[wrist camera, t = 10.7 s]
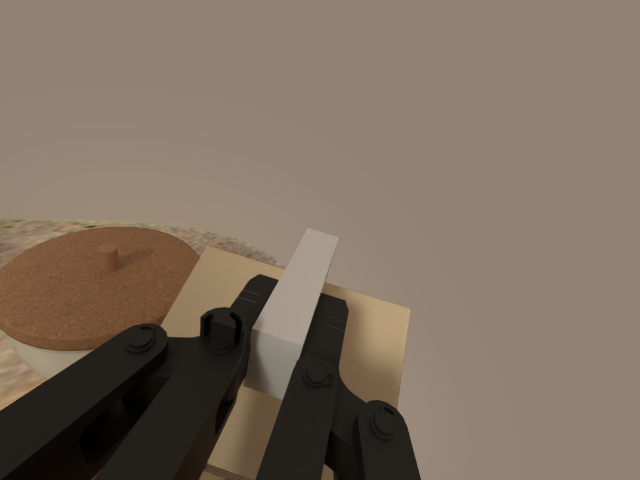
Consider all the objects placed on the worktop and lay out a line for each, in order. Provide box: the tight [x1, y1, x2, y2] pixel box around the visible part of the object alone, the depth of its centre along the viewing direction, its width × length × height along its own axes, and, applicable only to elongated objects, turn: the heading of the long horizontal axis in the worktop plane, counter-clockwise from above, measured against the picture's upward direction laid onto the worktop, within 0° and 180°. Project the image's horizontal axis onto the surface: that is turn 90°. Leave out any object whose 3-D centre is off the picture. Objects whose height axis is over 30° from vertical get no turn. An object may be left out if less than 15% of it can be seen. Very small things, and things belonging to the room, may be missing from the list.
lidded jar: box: [0, 227, 199, 380], centre depth 20 cm, size 11×11×9 cm
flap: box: [161, 245, 410, 480], centre depth 13 cm, size 11×1×8 cm
